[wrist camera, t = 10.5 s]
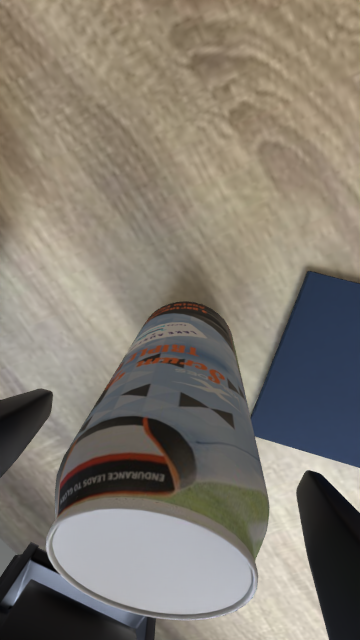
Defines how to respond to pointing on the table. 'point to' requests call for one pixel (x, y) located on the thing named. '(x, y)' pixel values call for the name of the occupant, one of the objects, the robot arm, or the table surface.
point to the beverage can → (165, 478)
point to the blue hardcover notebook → (316, 374)
